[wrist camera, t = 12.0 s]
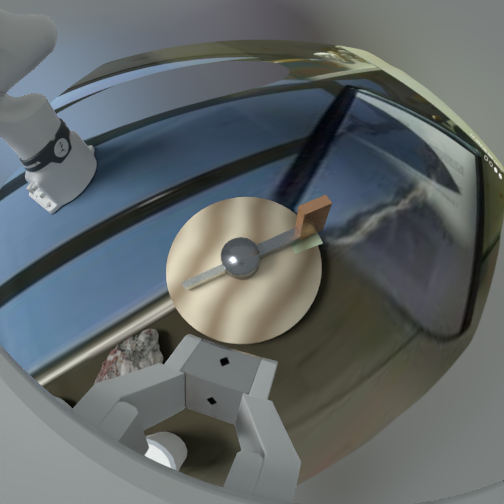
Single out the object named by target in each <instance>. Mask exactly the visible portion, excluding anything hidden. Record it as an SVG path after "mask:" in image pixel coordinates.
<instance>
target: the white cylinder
mask: <svg viewBox="0 0 504 504" xmlns="http://www.w3.org/2000/svg"><path fill="white" fill-rule="evenodd" d="M146 439H147V442H148V445H149V449H148V451H147V452H146V454H145V456H146V457H148V458H150V459H152V460H154V461H156V462H158V463H160V464H163V465H165V466H167V467H169V468H172V469H174V470H176V471H178V470H179V469H180V467H181V466H182V464H183V462H184V461H185V459H186V457H187V448H186V445H185V443H184V442H183V441H182V439H181V438H180V437H178V436H177V435H175V434H173V433H170V432H158V433H155V434H151V435H148V436H146Z"/></svg>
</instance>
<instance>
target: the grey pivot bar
mask: <svg viewBox="0 0 504 504" xmlns="http://www.w3.org/2000/svg"><path fill="white" fill-rule="evenodd" d="M331 205H332V202H331V201H330V200H329V198H328V197H327V195H324V196H321V197H319V198H317V199H314V200H312V201H309V202H307V203H305V204H302V205H300V206H299V207H298V213H297V219H296V225H295V228H293V229H291V230H288V231H286V232H284V233H282V234H280V235H277V236H275V237H273V238H271V239H268V240H266V241H264V242H262V243H260V244H257V245H256V244H255V243H254V242H253V241H252V240H250V239H248V238H244V237H238V238H234V239H231V240H230V241H228V242H227V243H226V244H225V245H224V246H223V248H222V251H221V261H222V264H221V265H219V266H217V267H214V268H212V269H210V270H208V271H206V272H203V273H201V274H199V275H197V276H194V277H192V278H190V279H188V280H186V281H183V282H182V284H183V287H184V289H185V290H186V291H187V290H189V289H192V288H194V287H196V286H198V285H200V284H203V283H205V282H207V281H209V280H211V279H214V278H216V277H218V276H220V275H223V274H225V273H226V272H227V273H228V274H229V275H230V276H231V277H233V278H235V279H247V278H250V277H252V276H253V275H254V274H255V273H256V272H257V271H258V269H259V266H260V259H263V258H265V257H267V256H269V255H271V254H273V253H276V252H278V251H280V250H282V249H284V248H286V247H289V246H291V245H293V244H295V243H297V242H299V241H300V240H302V239H304V238H306V237H309V236H311V235H313V234H315V233H317V232H319V231H321V230H323V228H324V225H325V222H326V219H327V216H328V213H329V210H330V207H331Z"/></svg>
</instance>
